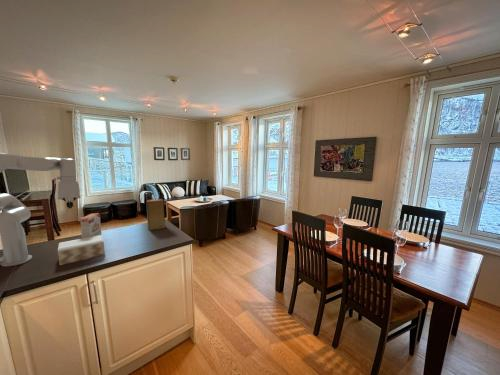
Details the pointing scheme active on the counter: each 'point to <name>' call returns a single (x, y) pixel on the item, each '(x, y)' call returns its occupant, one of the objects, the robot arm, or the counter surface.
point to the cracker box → (90, 225)
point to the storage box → (81, 253)
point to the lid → (80, 243)
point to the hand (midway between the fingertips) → (70, 208)
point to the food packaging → (155, 214)
